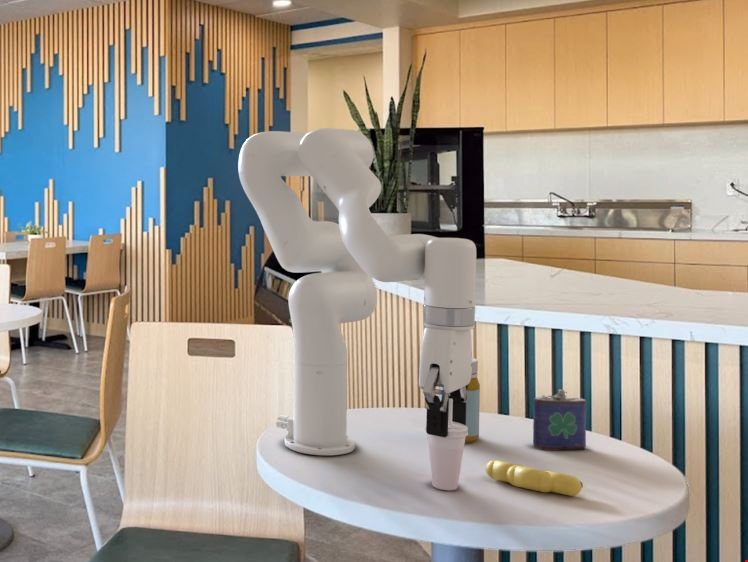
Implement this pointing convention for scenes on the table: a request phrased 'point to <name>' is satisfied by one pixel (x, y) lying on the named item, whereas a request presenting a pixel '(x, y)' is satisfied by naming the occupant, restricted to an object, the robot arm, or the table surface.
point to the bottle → (472, 405)
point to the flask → (559, 422)
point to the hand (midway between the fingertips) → (446, 429)
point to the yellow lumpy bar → (534, 478)
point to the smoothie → (447, 454)
